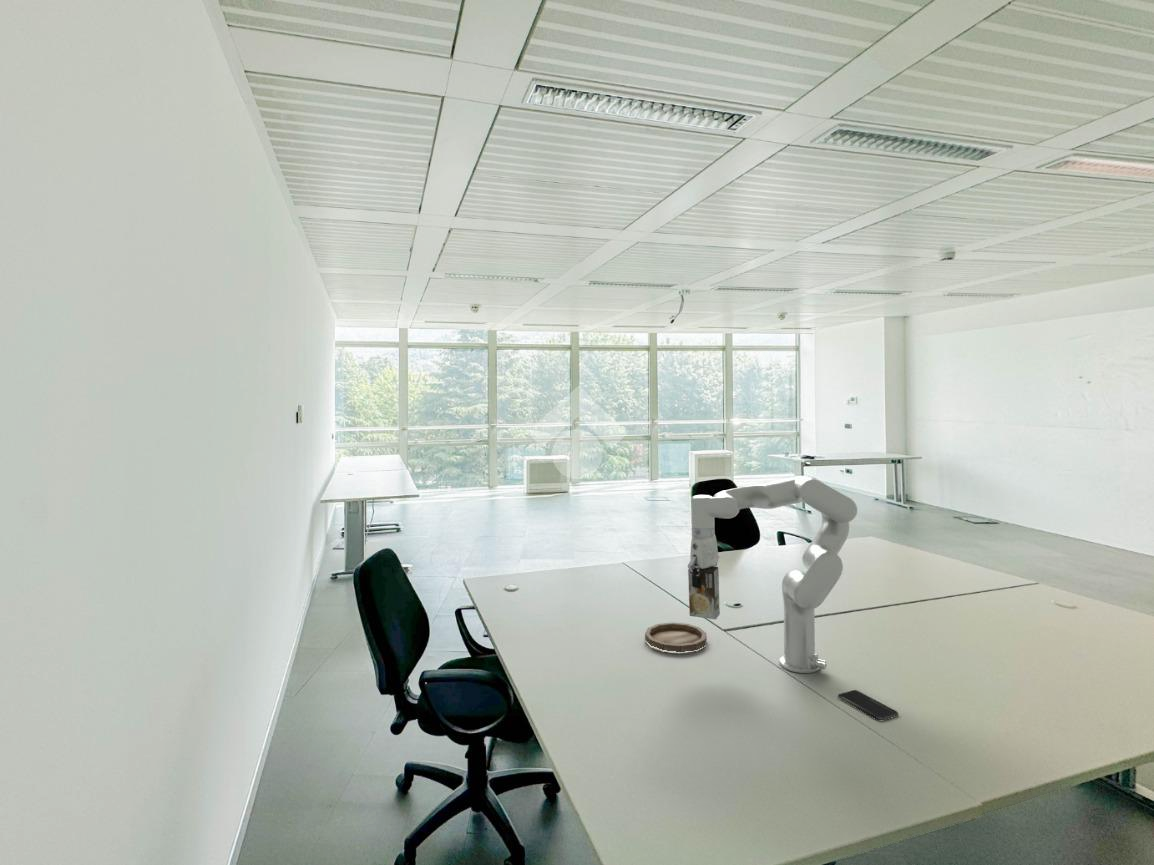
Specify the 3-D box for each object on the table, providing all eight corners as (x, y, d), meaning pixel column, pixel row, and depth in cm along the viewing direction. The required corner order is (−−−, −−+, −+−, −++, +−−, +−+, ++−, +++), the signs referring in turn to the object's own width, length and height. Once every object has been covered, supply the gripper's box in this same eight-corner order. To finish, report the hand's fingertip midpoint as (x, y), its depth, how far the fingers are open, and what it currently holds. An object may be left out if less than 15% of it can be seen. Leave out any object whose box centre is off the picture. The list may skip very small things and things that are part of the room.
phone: (879, 719, 160) (836, 694, 174) (879, 723, 160) (836, 698, 174) (900, 712, 163) (856, 689, 177) (900, 716, 163) (856, 693, 177)
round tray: (717, 641, 217) (717, 633, 217) (682, 659, 202) (682, 650, 202) (670, 626, 233) (670, 618, 233) (633, 642, 218) (633, 634, 218)
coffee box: (720, 613, 197) (719, 566, 196) (715, 620, 191) (715, 571, 191) (693, 610, 201) (692, 563, 200) (688, 616, 195) (687, 568, 195)
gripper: (697, 538, 186) (698, 593, 187) (727, 529, 198) (728, 580, 199) (678, 535, 192) (679, 588, 192) (708, 526, 204) (709, 576, 204)
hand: (704, 584), depth 196 cm, fingers closed on coffee box, 7 cm apart
